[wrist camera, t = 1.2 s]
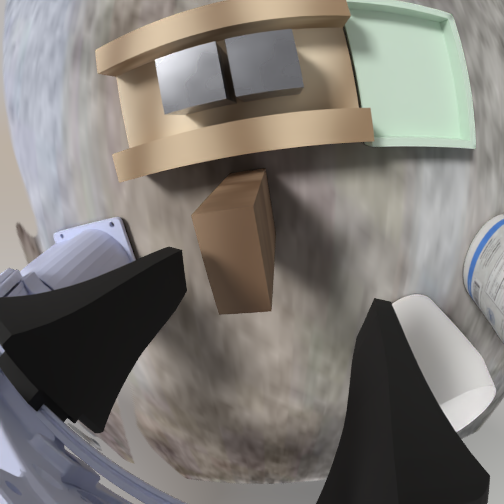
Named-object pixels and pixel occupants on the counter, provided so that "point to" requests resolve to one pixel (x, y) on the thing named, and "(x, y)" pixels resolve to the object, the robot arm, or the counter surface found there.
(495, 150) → the counter surface
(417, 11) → the tray
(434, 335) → the cup
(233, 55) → the dark grey cube
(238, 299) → the brown wooden block
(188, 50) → the grey cube
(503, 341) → the supplement tub
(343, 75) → the slot board
